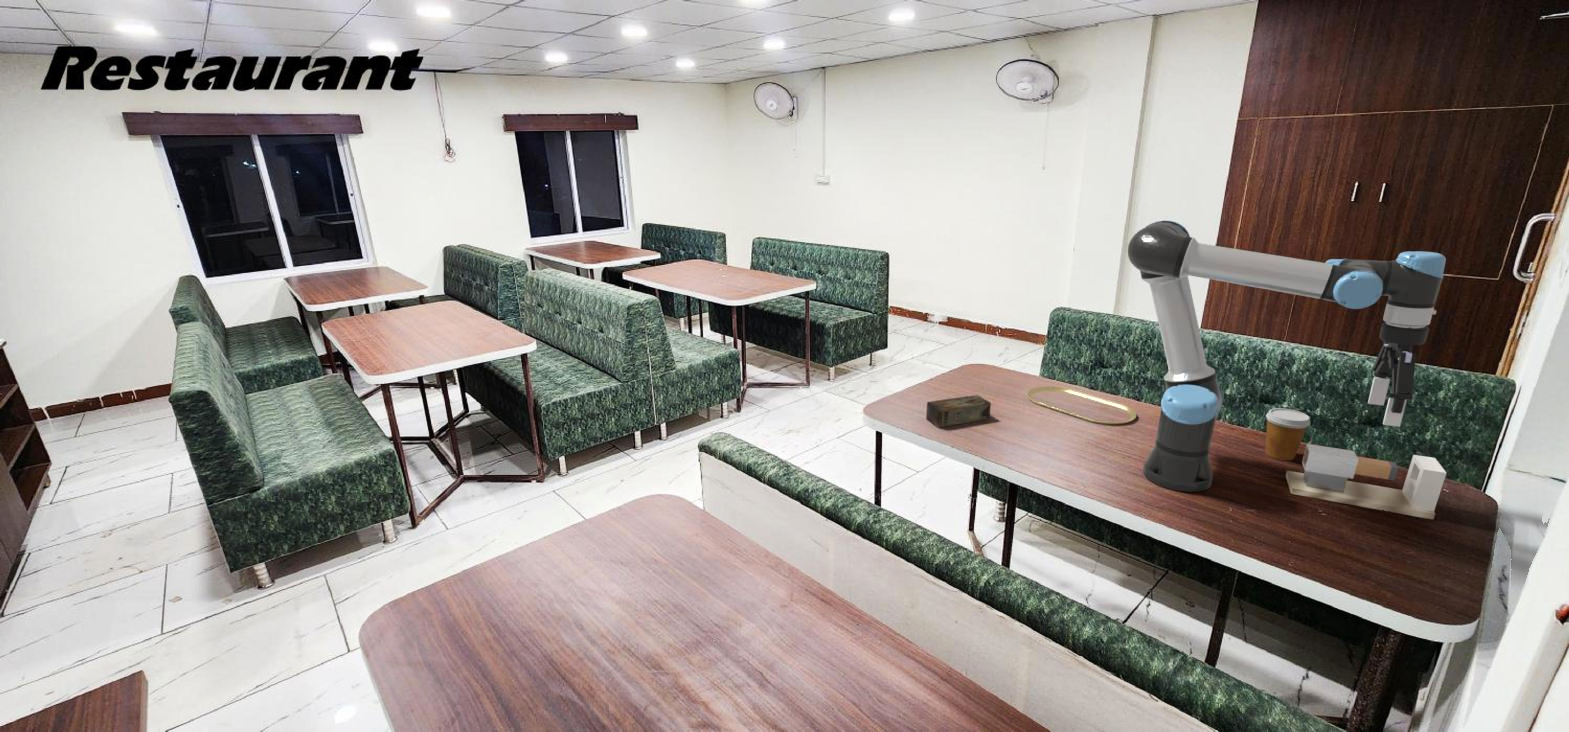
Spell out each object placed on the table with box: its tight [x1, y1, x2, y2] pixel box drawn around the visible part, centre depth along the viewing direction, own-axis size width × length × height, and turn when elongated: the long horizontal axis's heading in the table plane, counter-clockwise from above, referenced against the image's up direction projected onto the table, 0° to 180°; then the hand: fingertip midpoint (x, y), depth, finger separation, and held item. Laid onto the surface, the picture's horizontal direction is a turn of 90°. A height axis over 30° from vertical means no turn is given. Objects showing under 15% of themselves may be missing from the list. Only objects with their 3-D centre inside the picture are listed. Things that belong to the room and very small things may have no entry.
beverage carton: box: [925, 394, 992, 428], centre depth 204 cm, size 8×19×7 cm, turn 107°
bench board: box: [1285, 470, 1436, 520], centre depth 154 cm, size 26×10×2 cm, turn 60°
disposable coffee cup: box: [1264, 407, 1311, 461], centre depth 173 cm, size 10×10×12 cm
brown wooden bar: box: [1354, 456, 1399, 481], centre depth 153 cm, size 15×3×3 cm, turn 60°
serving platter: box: [1026, 385, 1137, 426], centre depth 212 cm, size 19×35×2 cm, turn 35°
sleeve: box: [1301, 443, 1358, 493], centre depth 155 cm, size 9×5×9 cm, turn 60°
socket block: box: [1401, 454, 1447, 513], centre depth 147 cm, size 4×8×10 cm, turn 150°
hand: (1383, 414), depth 147 cm, fingers open, 13 cm apart
